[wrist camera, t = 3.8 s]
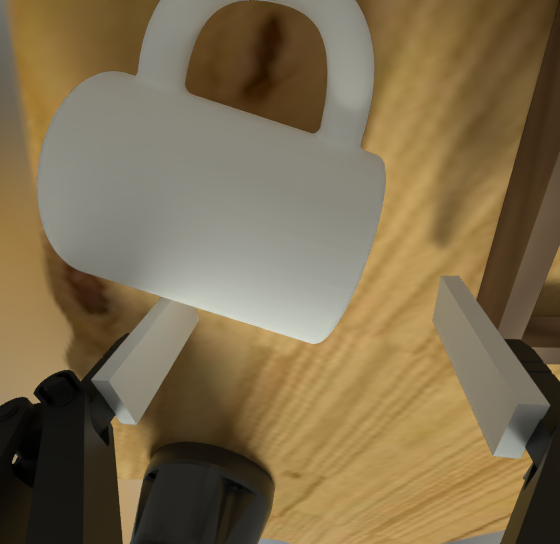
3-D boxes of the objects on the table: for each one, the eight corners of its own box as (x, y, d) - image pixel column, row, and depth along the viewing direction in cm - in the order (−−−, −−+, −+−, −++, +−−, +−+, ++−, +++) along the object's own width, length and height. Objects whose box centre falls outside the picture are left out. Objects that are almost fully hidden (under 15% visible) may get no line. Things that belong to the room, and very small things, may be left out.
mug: (315, 277, 18) (306, 388, 11) (160, 228, 18) (55, 310, 11) (416, 36, 11) (544, -56, 4) (173, -46, 11) (-72, -267, 4)
